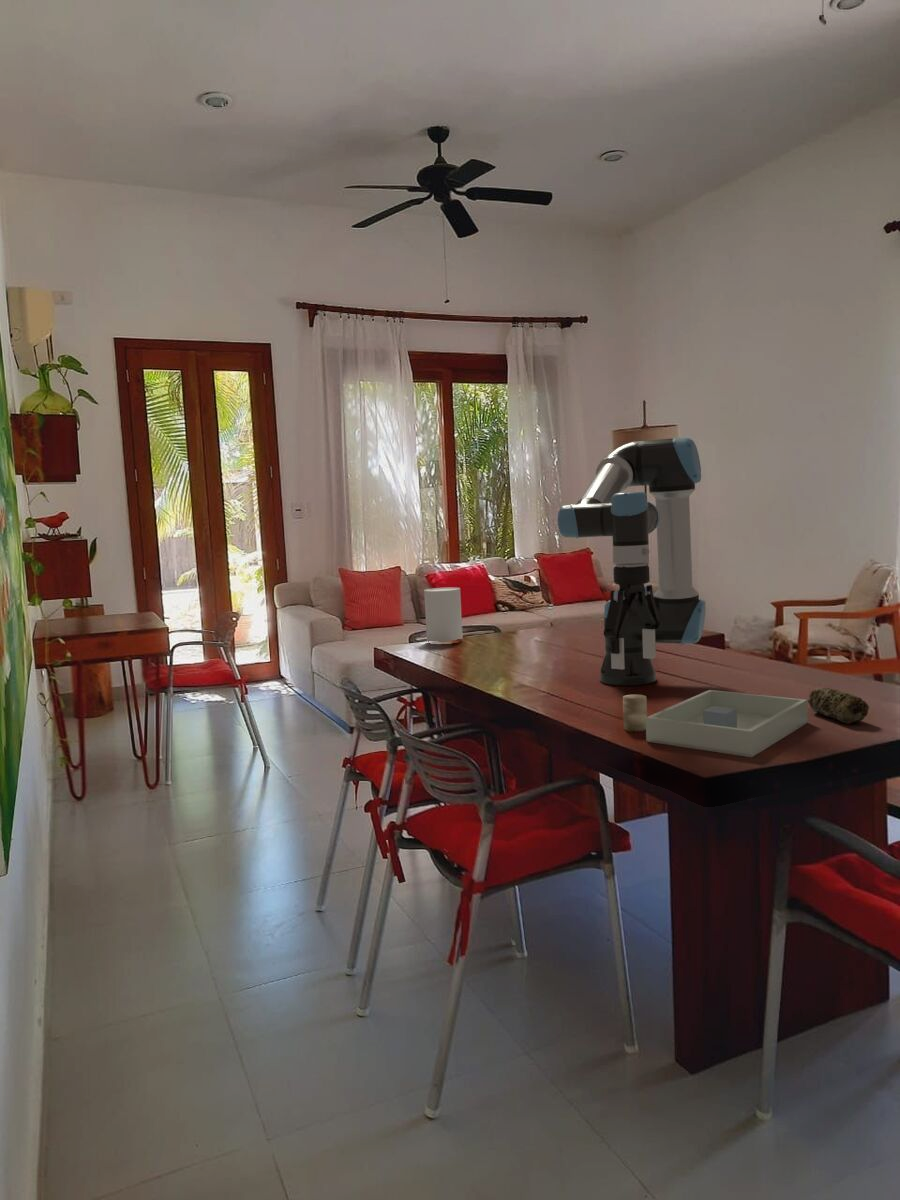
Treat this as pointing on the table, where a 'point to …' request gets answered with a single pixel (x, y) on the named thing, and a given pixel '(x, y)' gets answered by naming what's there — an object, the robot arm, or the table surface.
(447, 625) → the canister
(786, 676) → the table surface
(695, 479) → the robot arm
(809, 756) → the table surface
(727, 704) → the tote
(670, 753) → the table surface
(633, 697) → the beech cylinder
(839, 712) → the coral
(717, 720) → the slate cube
